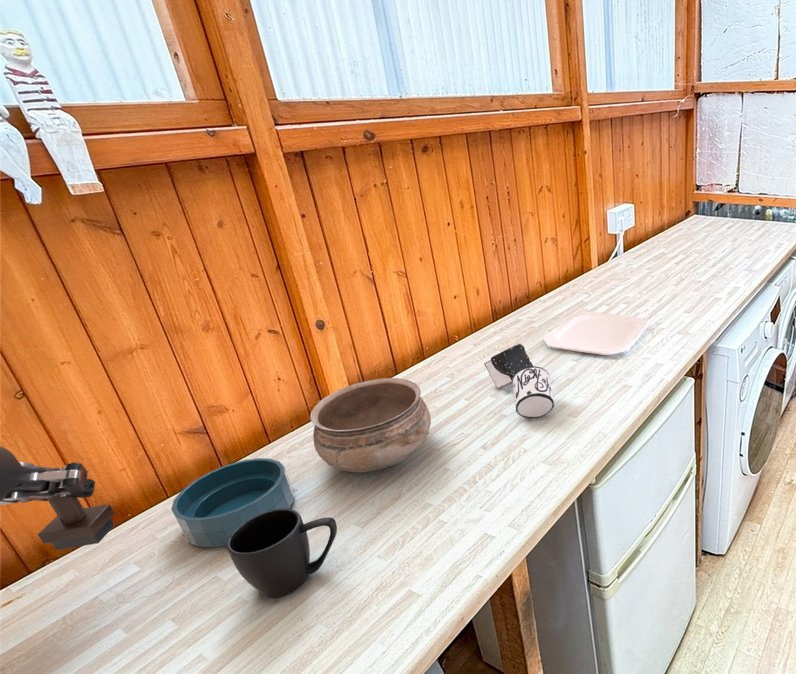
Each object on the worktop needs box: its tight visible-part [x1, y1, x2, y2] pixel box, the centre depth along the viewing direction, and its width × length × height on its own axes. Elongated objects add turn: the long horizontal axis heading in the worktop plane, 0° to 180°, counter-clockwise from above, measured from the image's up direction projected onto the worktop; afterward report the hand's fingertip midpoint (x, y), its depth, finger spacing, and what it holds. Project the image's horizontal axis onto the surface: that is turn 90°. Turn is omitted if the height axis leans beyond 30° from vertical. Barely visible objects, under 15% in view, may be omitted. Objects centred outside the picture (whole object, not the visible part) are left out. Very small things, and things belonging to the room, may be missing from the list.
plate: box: [542, 310, 649, 356], centre depth 145 cm, size 25×25×2 cm
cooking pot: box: [310, 377, 432, 473], centre depth 94 cm, size 25×19×12 cm
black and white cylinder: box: [483, 343, 555, 419], centre depth 114 cm, size 25×10×10 cm, turn 34°
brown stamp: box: [37, 467, 115, 551], centre depth 65 cm, size 5×4×10 cm
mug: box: [225, 508, 338, 599], centre depth 71 cm, size 8×12×10 cm
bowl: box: [171, 457, 295, 548], centre depth 82 cm, size 14×14×6 cm
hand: (76, 490), depth 66 cm, fingers closed on brown stamp, 2 cm apart
